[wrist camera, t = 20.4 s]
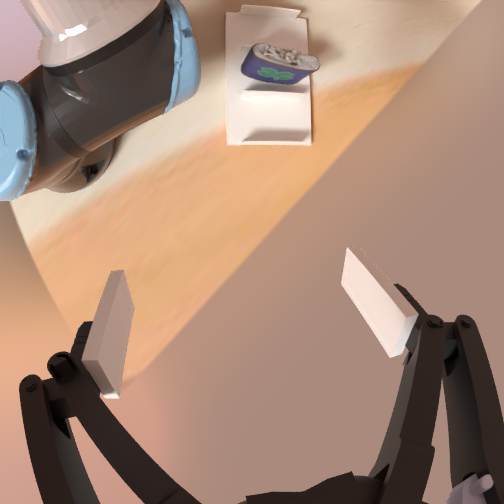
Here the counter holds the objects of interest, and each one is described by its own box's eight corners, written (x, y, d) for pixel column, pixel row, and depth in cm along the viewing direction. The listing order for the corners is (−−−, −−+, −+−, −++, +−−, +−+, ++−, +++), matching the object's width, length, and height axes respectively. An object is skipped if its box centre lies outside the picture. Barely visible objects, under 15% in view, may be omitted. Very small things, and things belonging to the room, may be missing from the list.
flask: (299, 72, 40) (327, 54, 30) (297, 89, 41) (325, 73, 31) (241, 60, 38) (255, 35, 28) (238, 77, 39) (251, 55, 29)
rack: (226, 145, 43) (229, 144, 39) (225, 15, 36) (228, 3, 32) (308, 145, 45) (318, 145, 42) (303, 21, 38) (312, 12, 34)
